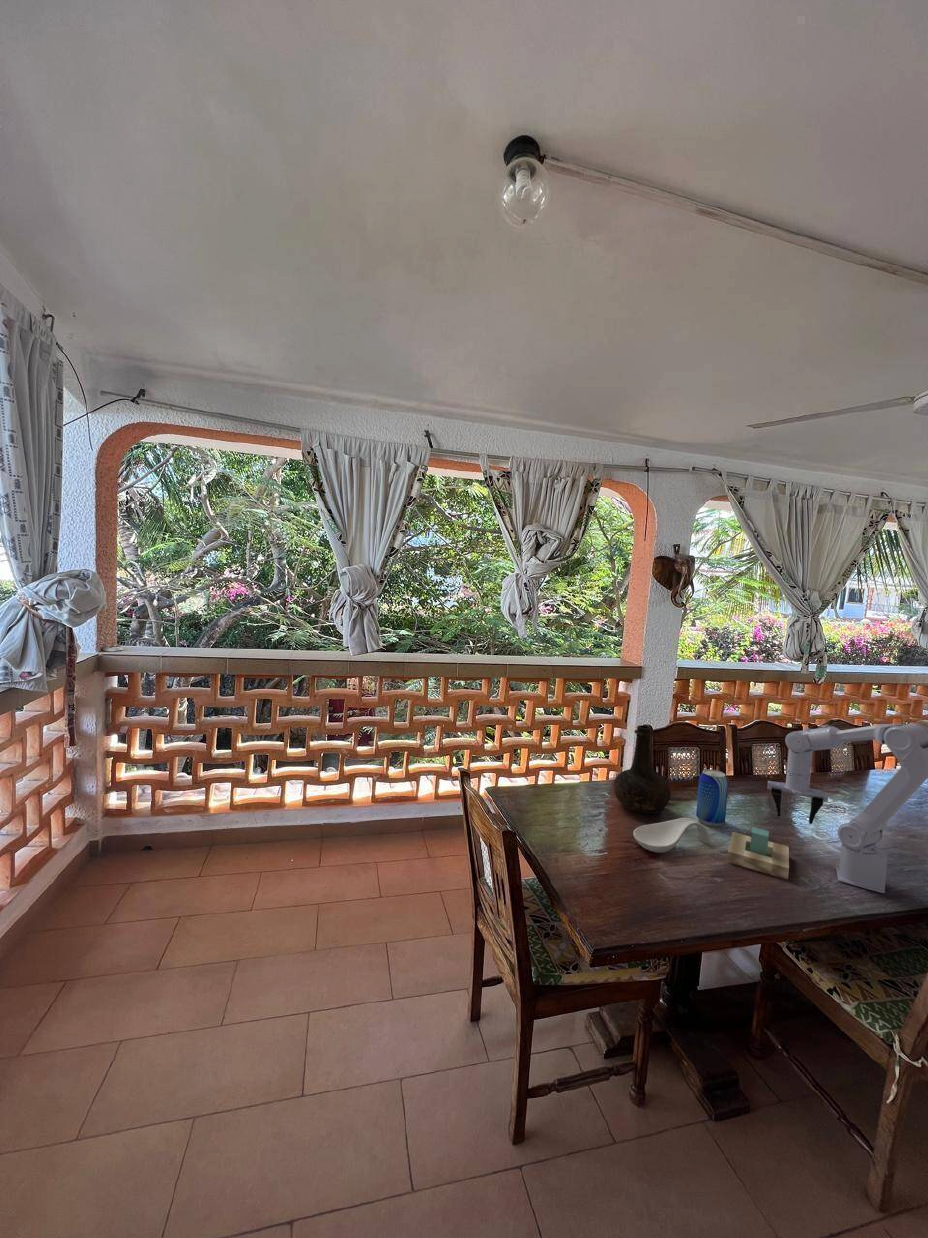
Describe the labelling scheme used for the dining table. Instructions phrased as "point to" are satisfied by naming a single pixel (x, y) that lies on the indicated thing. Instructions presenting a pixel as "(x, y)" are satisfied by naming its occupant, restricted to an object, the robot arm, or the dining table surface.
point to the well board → (759, 856)
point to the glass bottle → (642, 780)
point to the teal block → (759, 841)
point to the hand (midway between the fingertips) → (794, 819)
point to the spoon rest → (667, 834)
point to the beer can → (712, 798)
